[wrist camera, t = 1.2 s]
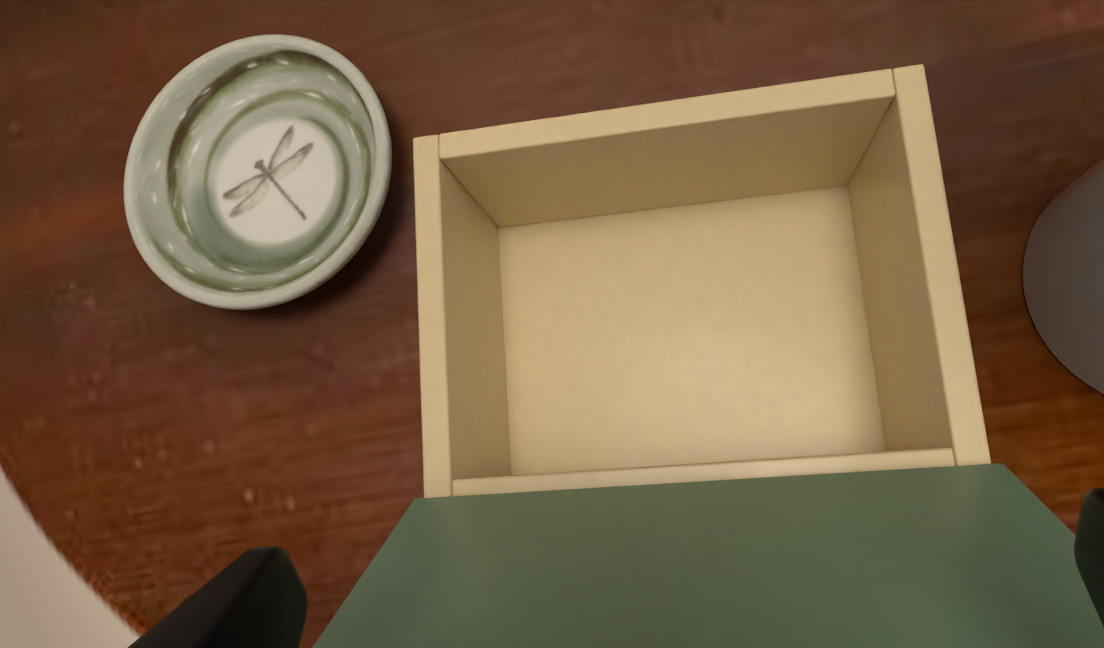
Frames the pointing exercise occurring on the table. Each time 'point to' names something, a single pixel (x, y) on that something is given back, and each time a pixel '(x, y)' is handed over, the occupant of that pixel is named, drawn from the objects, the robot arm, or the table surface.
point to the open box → (693, 293)
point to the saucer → (257, 172)
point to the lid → (730, 567)
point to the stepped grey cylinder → (1070, 276)
